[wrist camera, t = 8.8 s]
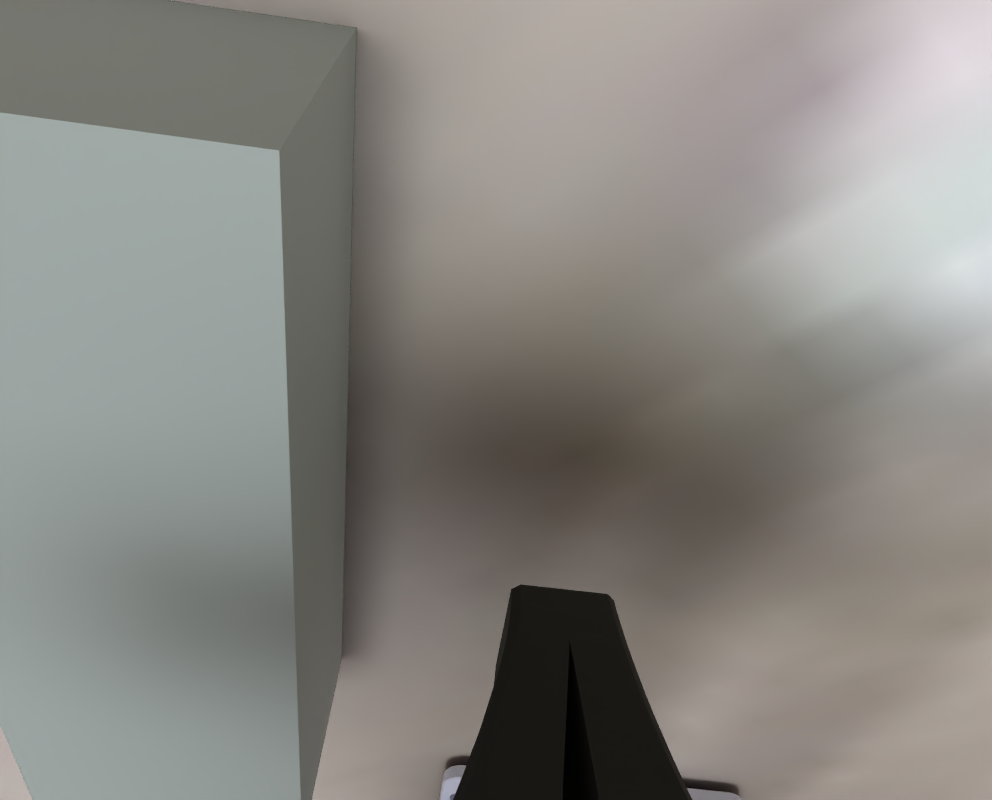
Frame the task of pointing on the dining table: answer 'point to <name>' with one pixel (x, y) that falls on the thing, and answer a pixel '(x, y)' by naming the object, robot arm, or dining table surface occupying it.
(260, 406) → the tongue plank
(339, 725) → the dining table surface
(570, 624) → the robot arm
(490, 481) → the dining table surface
